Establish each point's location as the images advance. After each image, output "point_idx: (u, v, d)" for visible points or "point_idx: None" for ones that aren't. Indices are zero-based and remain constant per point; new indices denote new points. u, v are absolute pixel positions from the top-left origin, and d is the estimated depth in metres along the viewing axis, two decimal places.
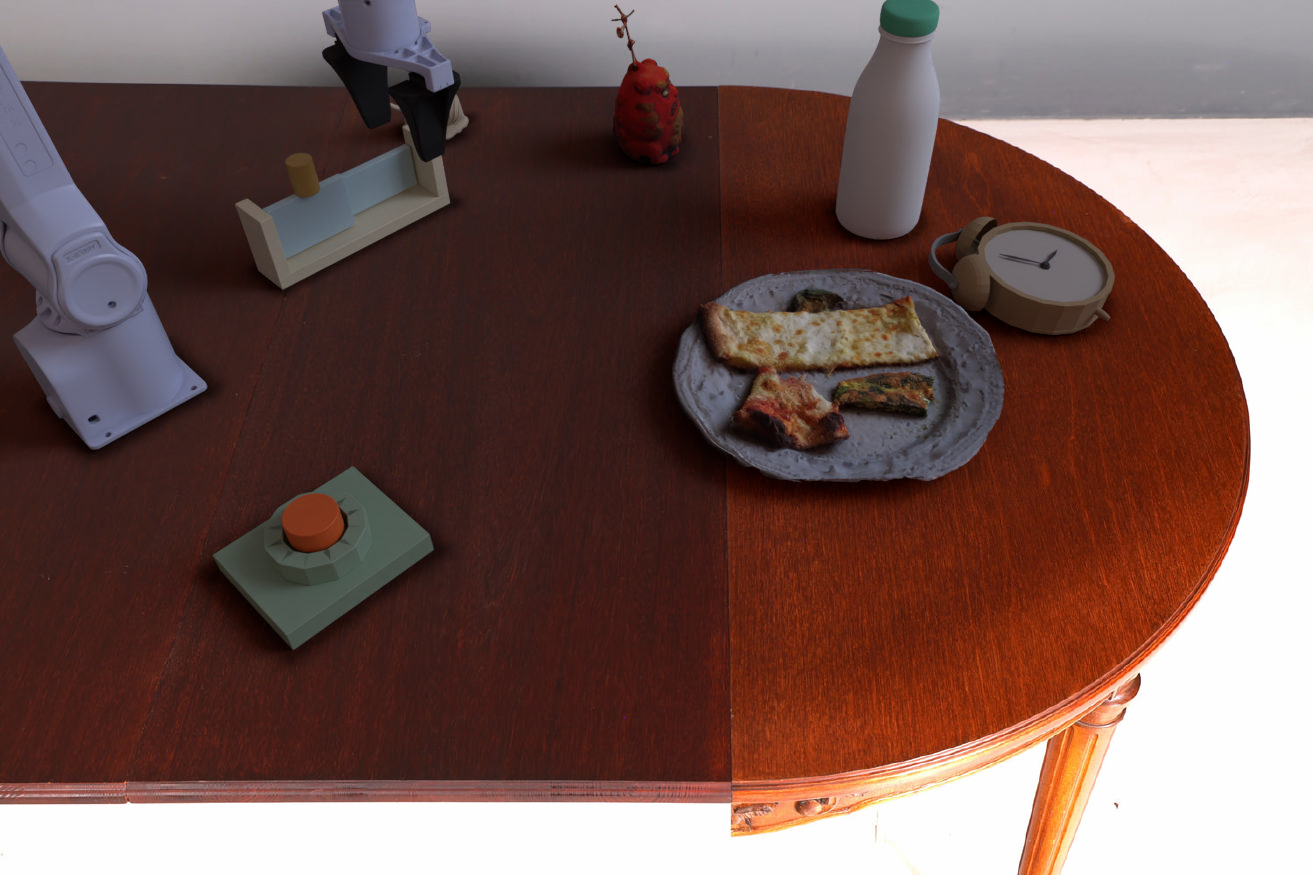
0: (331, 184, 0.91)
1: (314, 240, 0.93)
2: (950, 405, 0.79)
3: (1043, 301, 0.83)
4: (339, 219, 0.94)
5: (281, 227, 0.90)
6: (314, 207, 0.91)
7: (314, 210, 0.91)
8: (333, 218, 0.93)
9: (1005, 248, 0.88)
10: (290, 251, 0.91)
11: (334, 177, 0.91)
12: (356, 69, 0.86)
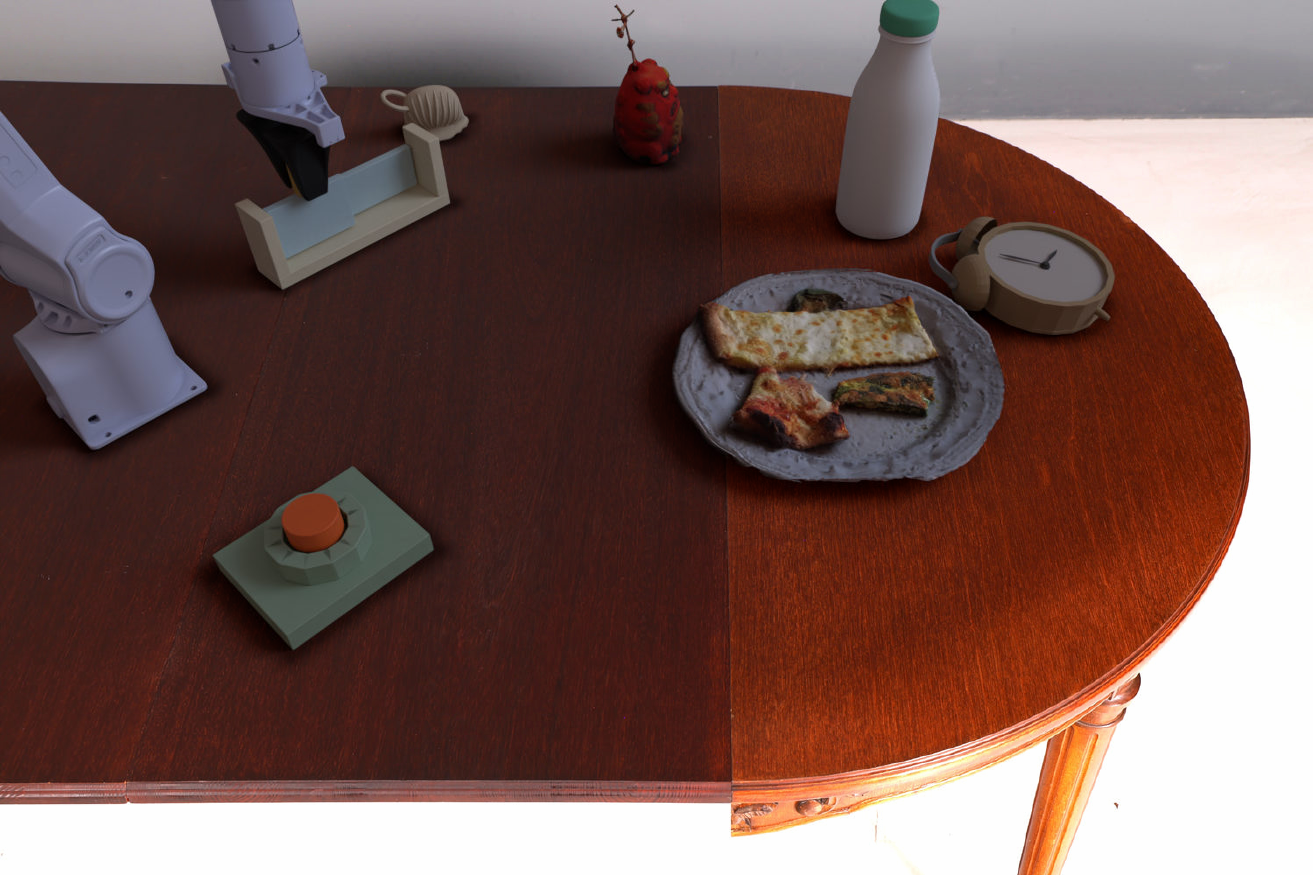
0: (331, 184, 0.91)
1: (314, 240, 0.93)
2: (950, 405, 0.79)
3: (1043, 301, 0.83)
4: (339, 219, 0.94)
5: (281, 227, 0.90)
6: (314, 207, 0.91)
7: (314, 210, 0.91)
8: (333, 218, 0.93)
9: (1005, 248, 0.88)
10: (290, 251, 0.91)
11: (334, 177, 0.91)
12: None
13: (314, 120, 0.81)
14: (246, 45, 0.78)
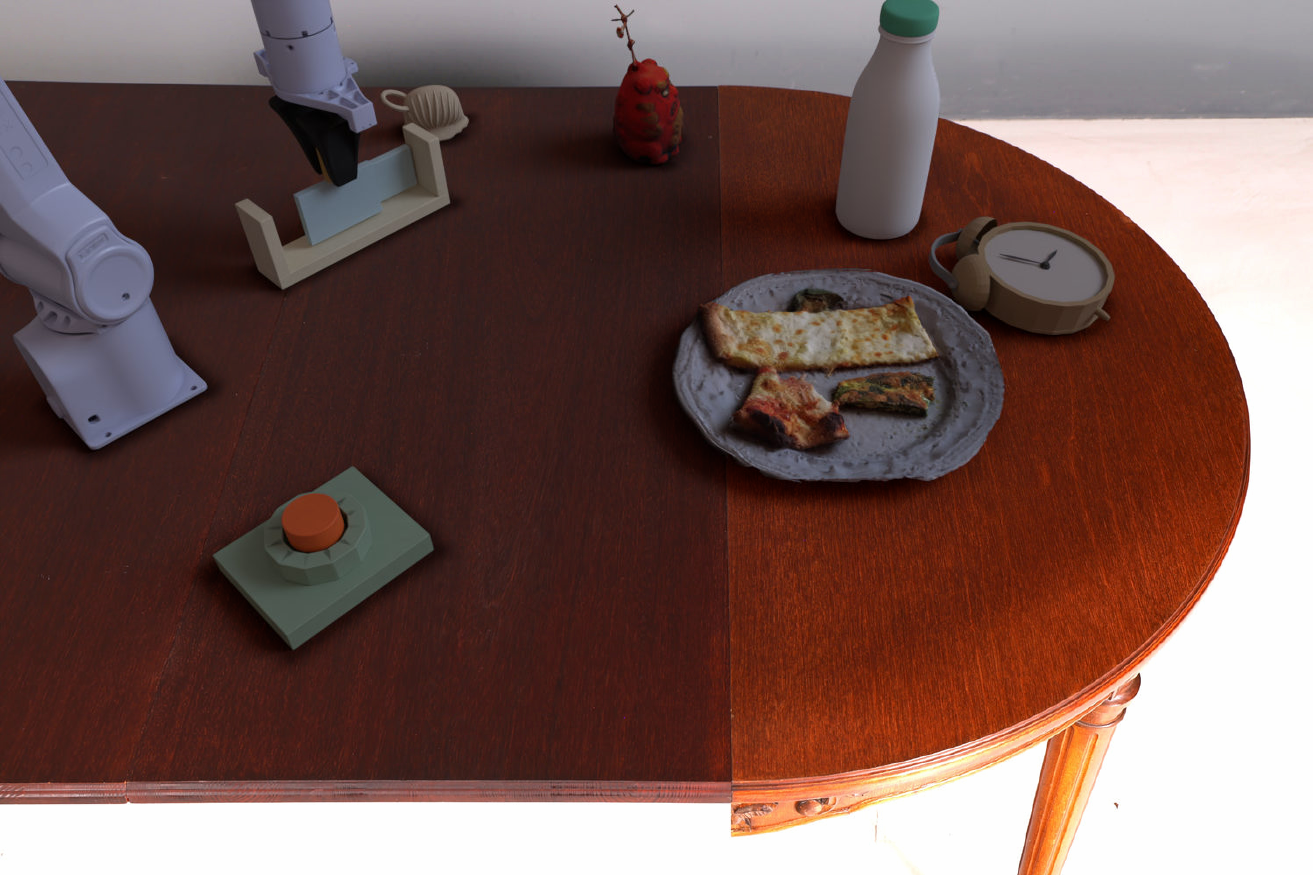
0: (360, 170, 0.92)
1: (343, 225, 0.94)
2: (950, 405, 0.79)
3: (1043, 301, 0.83)
4: (367, 205, 0.95)
5: (311, 212, 0.91)
6: (343, 193, 0.92)
7: (343, 196, 0.93)
8: (361, 204, 0.94)
9: (1005, 248, 0.88)
10: (320, 236, 0.93)
11: (363, 164, 0.93)
12: None
13: (347, 106, 0.82)
14: (280, 32, 0.79)
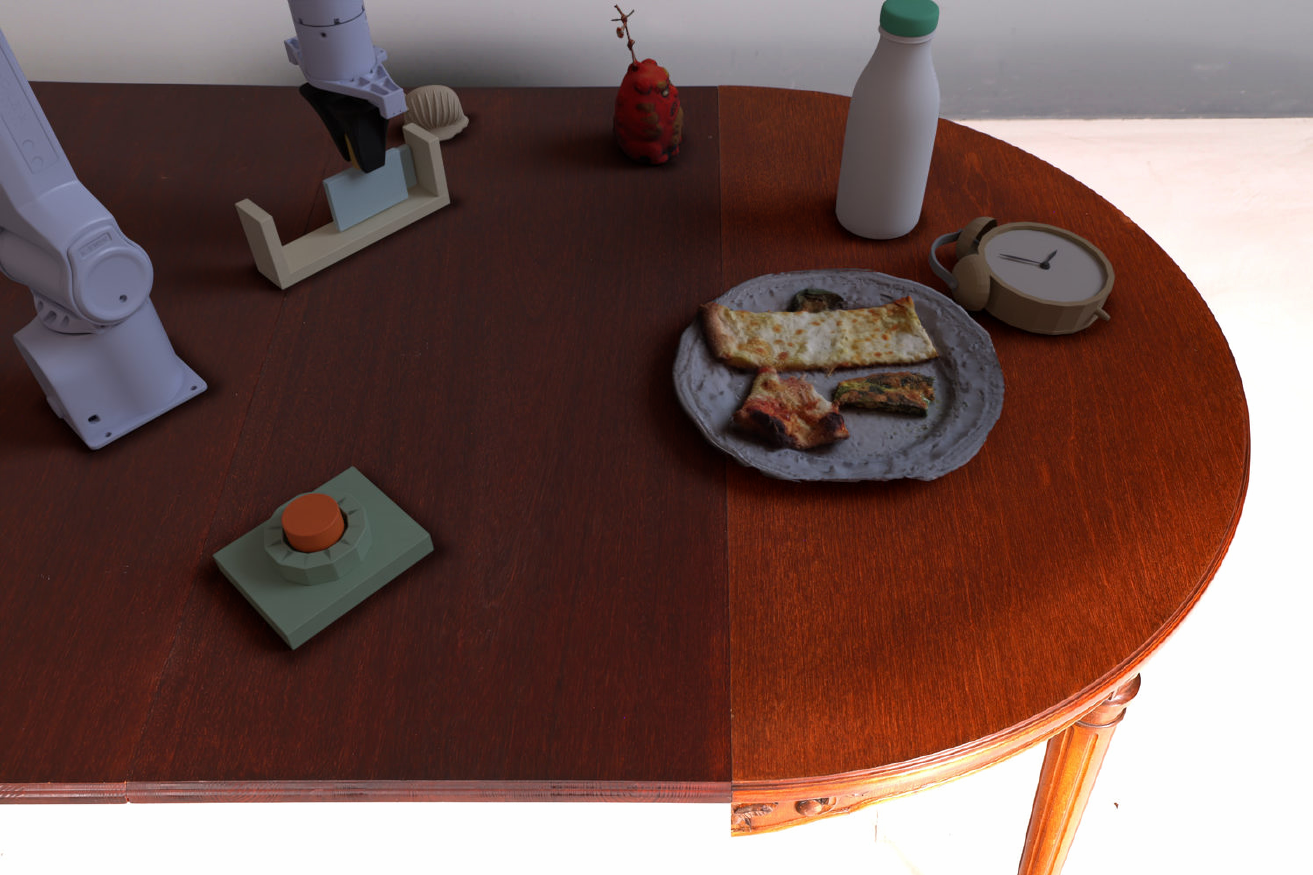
0: (387, 157, 0.94)
1: (370, 212, 0.96)
2: (950, 405, 0.79)
3: (1043, 301, 0.83)
4: (393, 192, 0.96)
5: (340, 199, 0.92)
6: (371, 180, 0.94)
7: (371, 183, 0.94)
8: (388, 191, 0.96)
9: (1005, 248, 0.88)
10: (347, 223, 0.94)
11: (390, 151, 0.94)
12: None
13: (378, 92, 0.84)
14: (313, 19, 0.81)
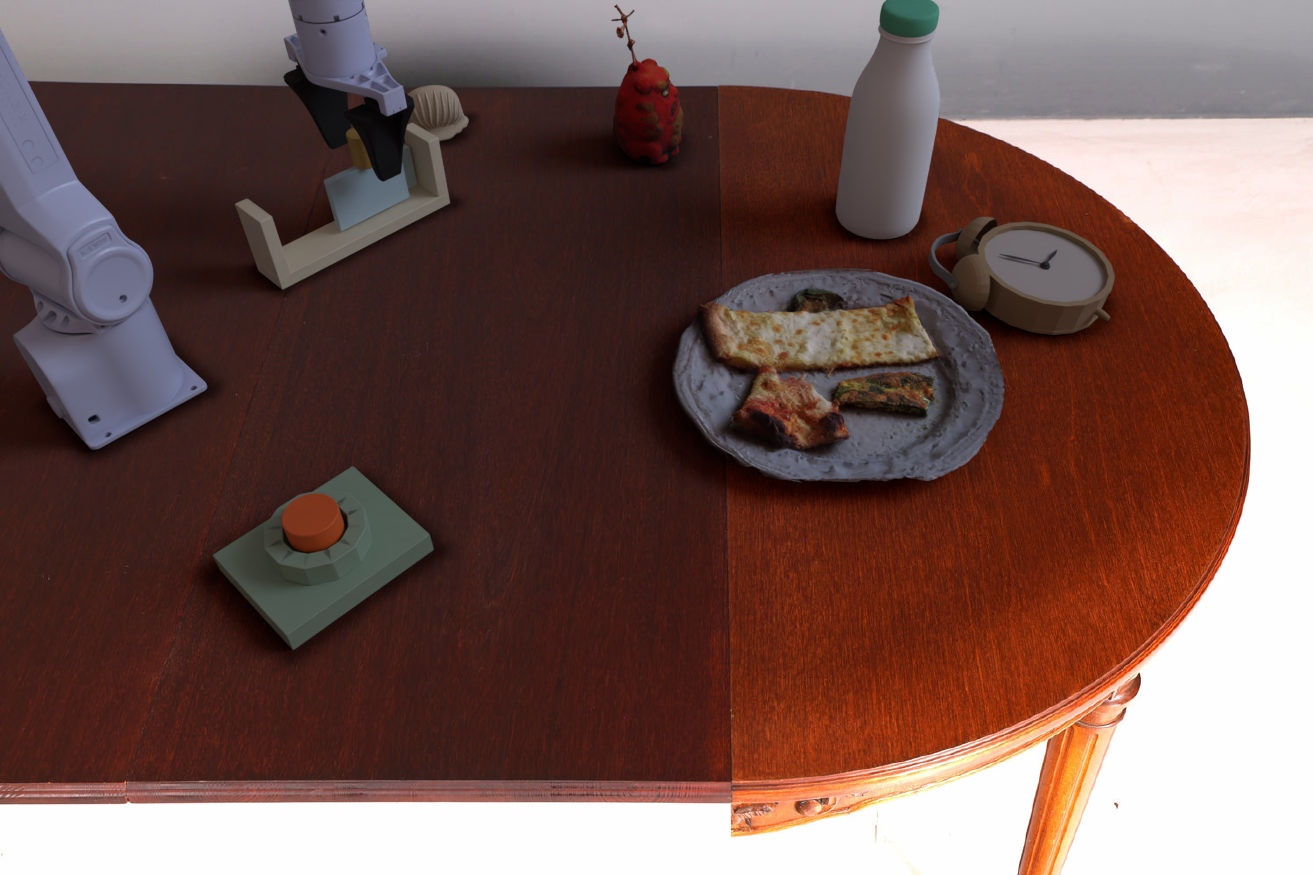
0: None
1: (371, 211, 0.96)
2: (950, 405, 0.79)
3: (1043, 301, 0.83)
4: (394, 191, 0.96)
5: (341, 198, 0.93)
6: (372, 179, 0.94)
7: (372, 182, 0.94)
8: (389, 191, 0.96)
9: (1005, 248, 0.88)
10: (348, 222, 0.94)
11: None
12: (316, 92, 0.90)
13: (378, 90, 0.84)
14: (313, 16, 0.81)
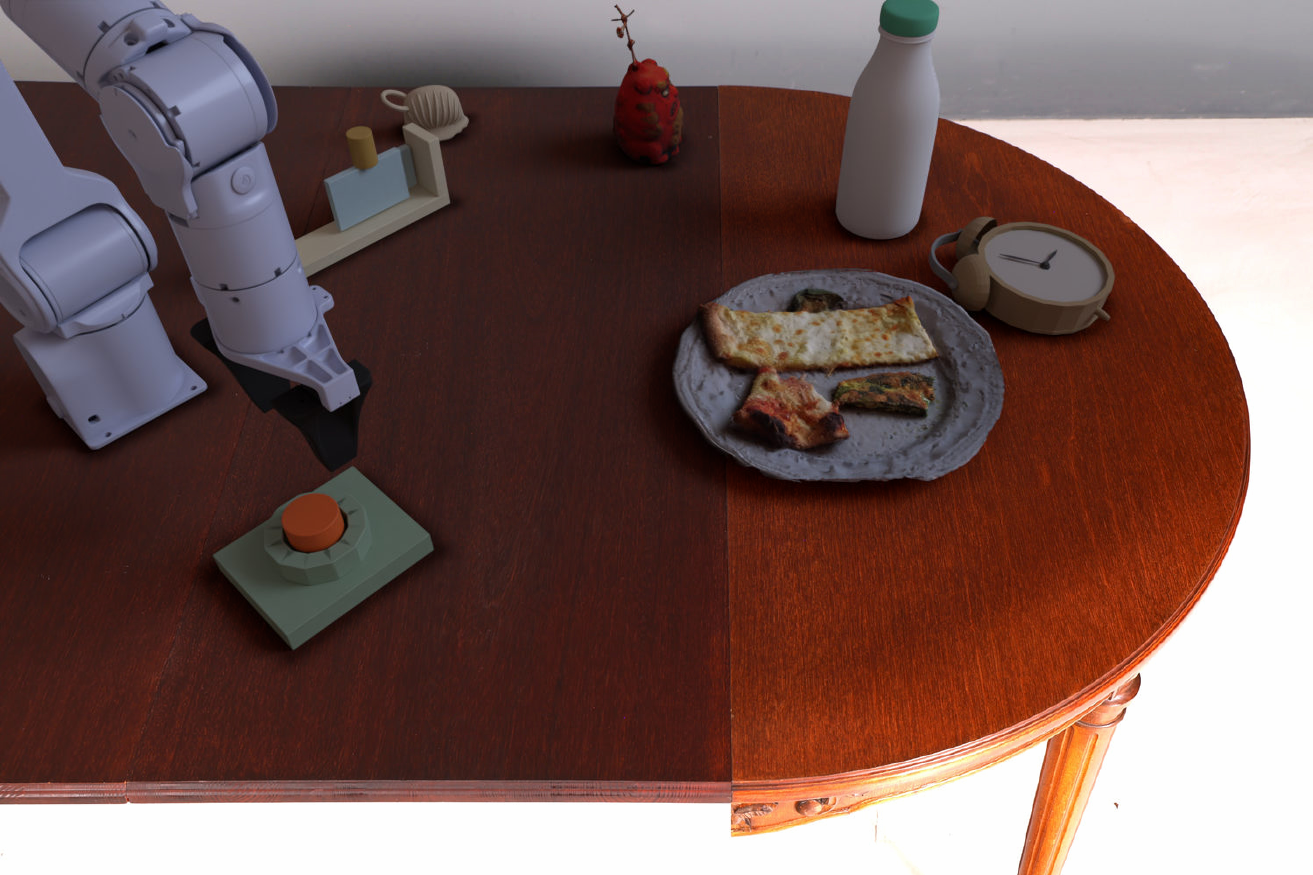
0: (388, 157, 0.94)
1: (371, 211, 0.96)
2: (950, 405, 0.79)
3: (1043, 301, 0.83)
4: (394, 191, 0.96)
5: (341, 198, 0.93)
6: (372, 179, 0.94)
7: (372, 182, 0.94)
8: (389, 191, 0.96)
9: (1005, 248, 0.88)
10: (348, 222, 0.94)
11: (391, 150, 0.94)
12: None
13: (317, 373, 0.58)
14: None
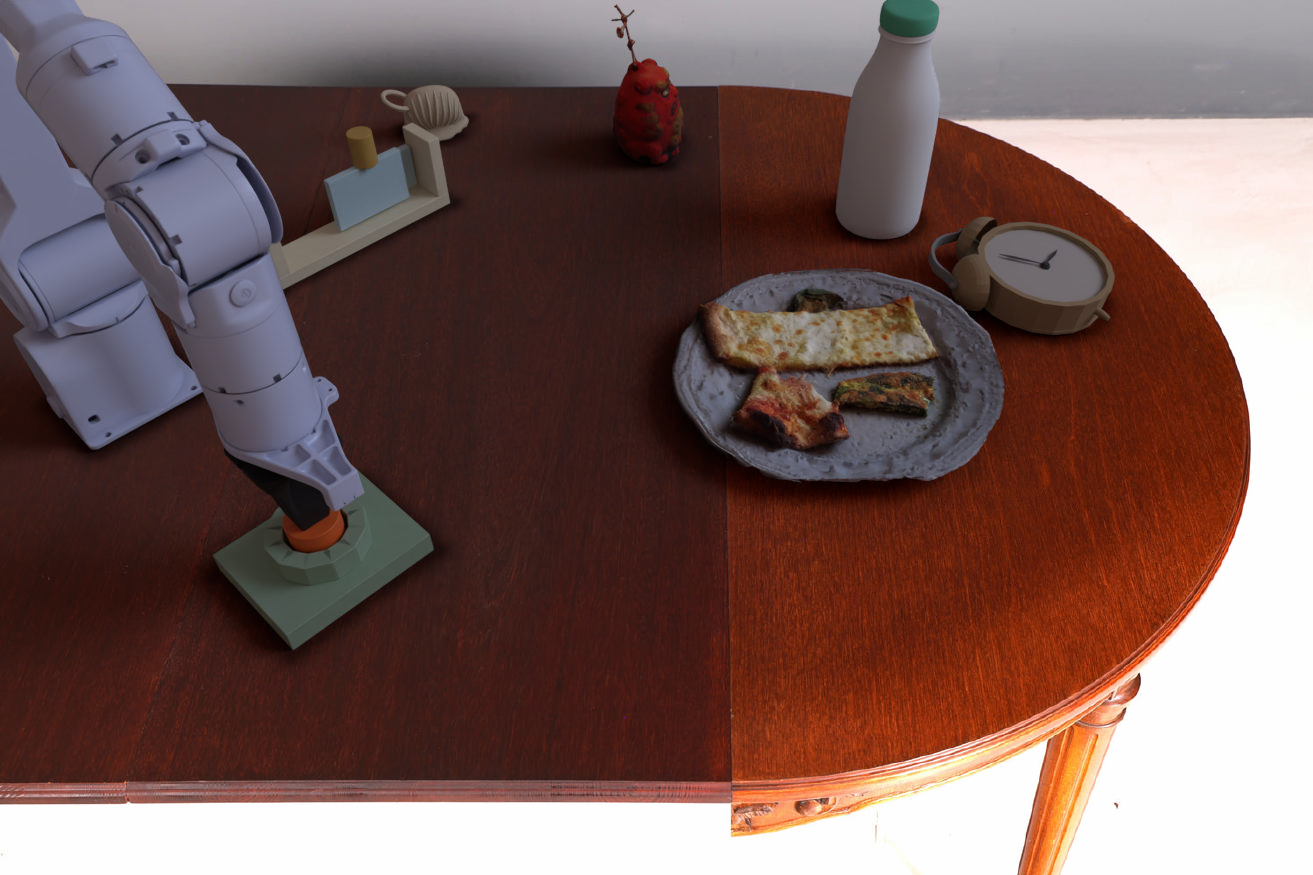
0: (388, 157, 0.94)
1: (371, 211, 0.96)
2: (950, 405, 0.79)
3: (1043, 301, 0.83)
4: (394, 191, 0.96)
5: (341, 198, 0.93)
6: (372, 179, 0.94)
7: (372, 182, 0.94)
8: (389, 191, 0.96)
9: (1005, 248, 0.88)
10: (348, 222, 0.94)
11: (391, 150, 0.94)
12: None
13: (321, 473, 0.58)
14: None
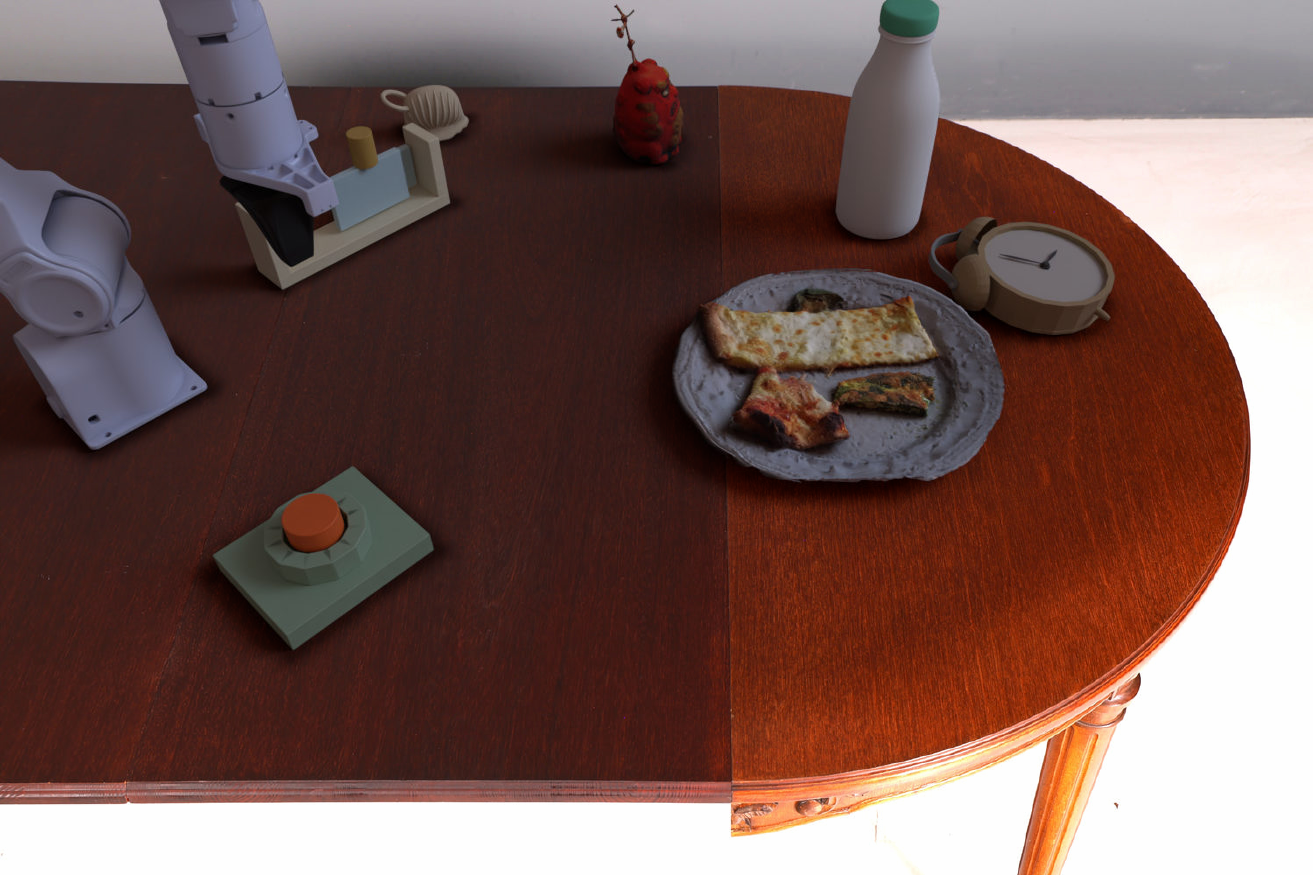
0: (388, 157, 0.94)
1: (371, 211, 0.96)
2: (950, 405, 0.79)
3: (1043, 301, 0.83)
4: (394, 191, 0.96)
5: (341, 198, 0.93)
6: (372, 179, 0.94)
7: (372, 182, 0.94)
8: (389, 191, 0.96)
9: (1005, 248, 0.88)
10: (348, 222, 0.94)
11: (391, 150, 0.94)
12: None
13: (302, 184, 0.67)
14: (192, 90, 0.65)
